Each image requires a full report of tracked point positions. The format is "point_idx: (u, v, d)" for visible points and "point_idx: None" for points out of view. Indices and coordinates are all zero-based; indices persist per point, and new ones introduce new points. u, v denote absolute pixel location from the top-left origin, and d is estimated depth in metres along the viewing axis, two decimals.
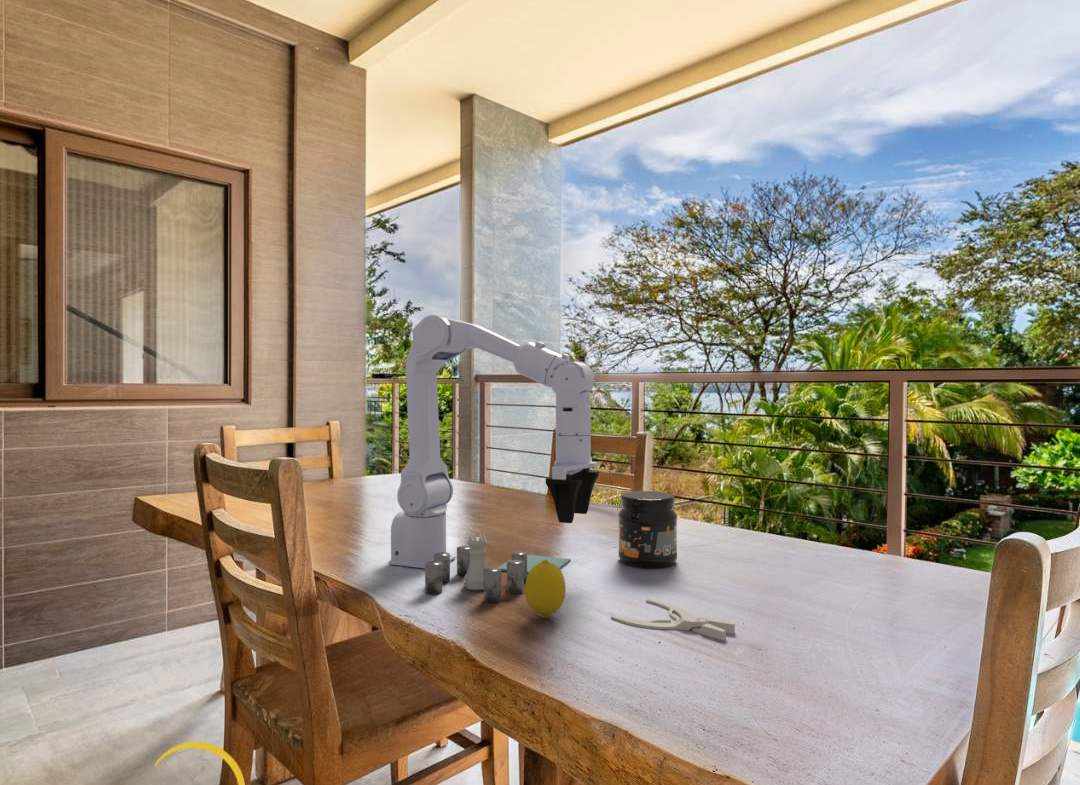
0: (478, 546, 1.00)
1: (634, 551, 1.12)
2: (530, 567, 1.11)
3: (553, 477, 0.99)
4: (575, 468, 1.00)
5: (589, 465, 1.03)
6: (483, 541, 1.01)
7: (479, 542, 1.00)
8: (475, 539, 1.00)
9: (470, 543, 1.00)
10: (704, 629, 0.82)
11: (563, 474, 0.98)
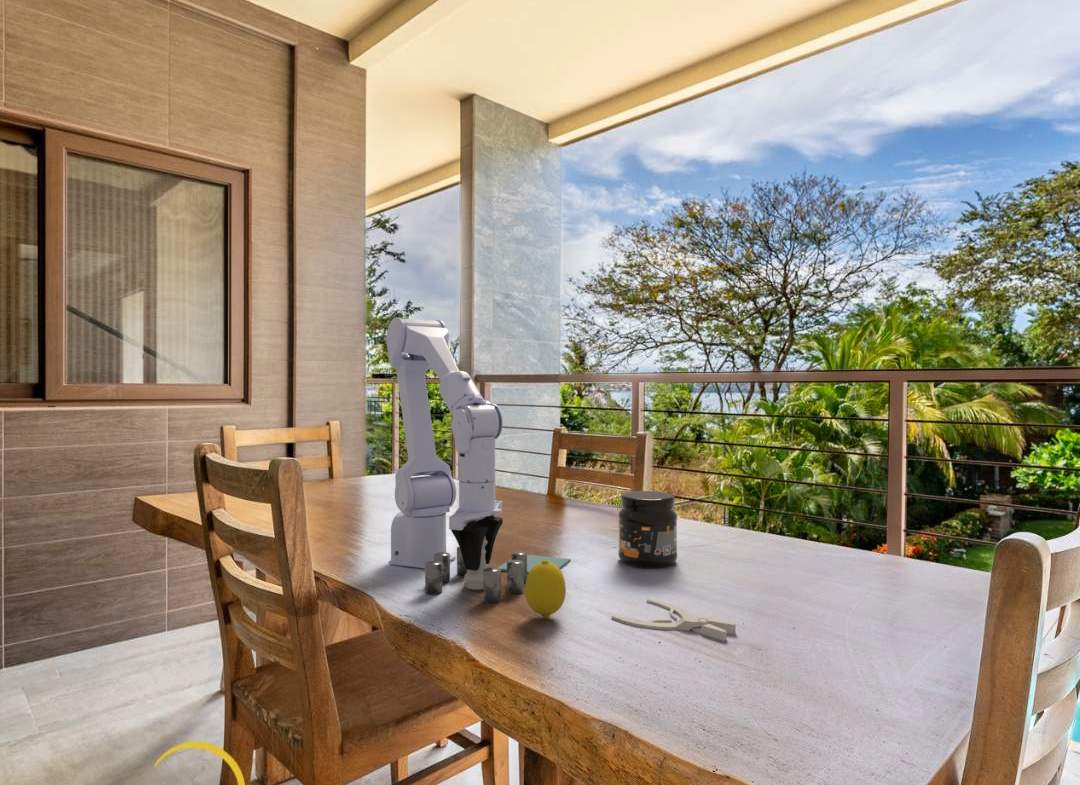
0: None
1: (634, 551, 1.12)
2: (530, 567, 1.11)
3: (450, 527, 0.95)
4: (475, 517, 0.97)
5: (492, 513, 0.99)
6: (483, 541, 1.01)
7: None
8: None
9: None
10: (705, 629, 0.82)
11: (460, 524, 0.94)
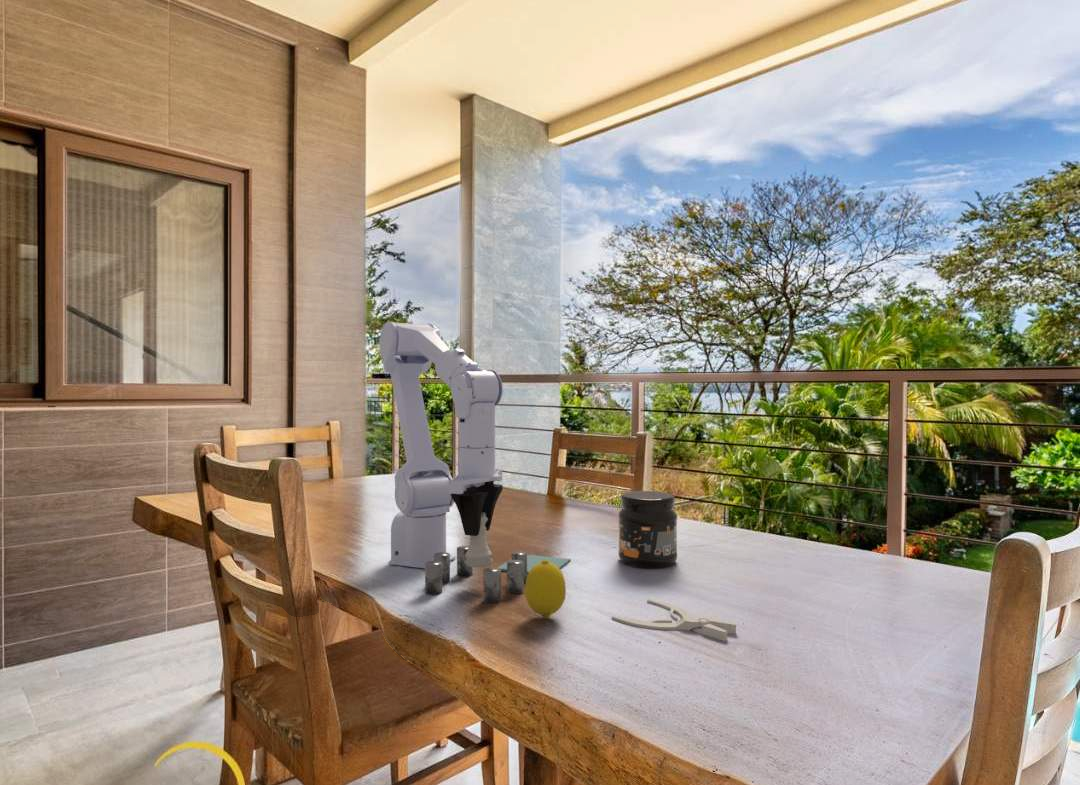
0: None
1: (634, 551, 1.12)
2: (530, 567, 1.11)
3: (450, 491, 0.95)
4: (474, 482, 0.97)
5: (491, 478, 0.99)
6: (483, 518, 1.01)
7: None
8: None
9: None
10: (705, 629, 0.82)
11: (459, 488, 0.94)
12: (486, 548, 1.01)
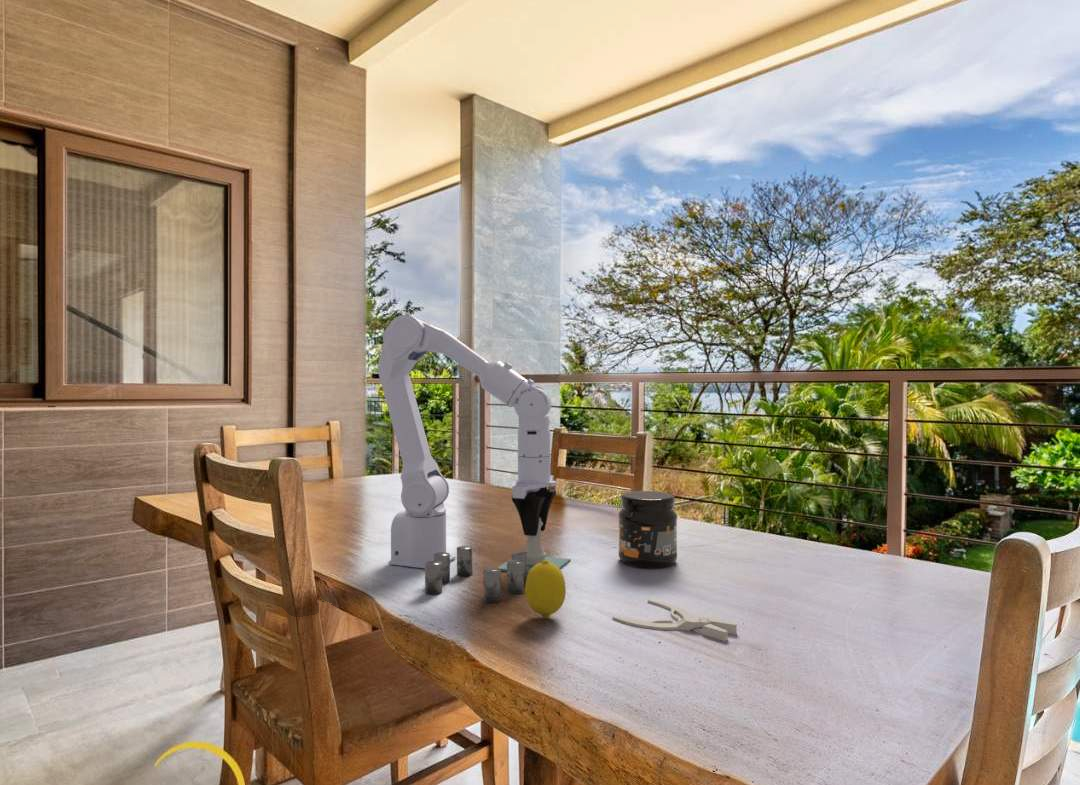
0: None
1: (634, 551, 1.12)
2: (530, 567, 1.11)
3: (513, 496, 1.07)
4: (534, 487, 1.09)
5: (548, 484, 1.11)
6: (539, 523, 1.12)
7: None
8: None
9: None
10: (706, 630, 0.82)
11: (522, 493, 1.06)
12: (541, 549, 1.12)
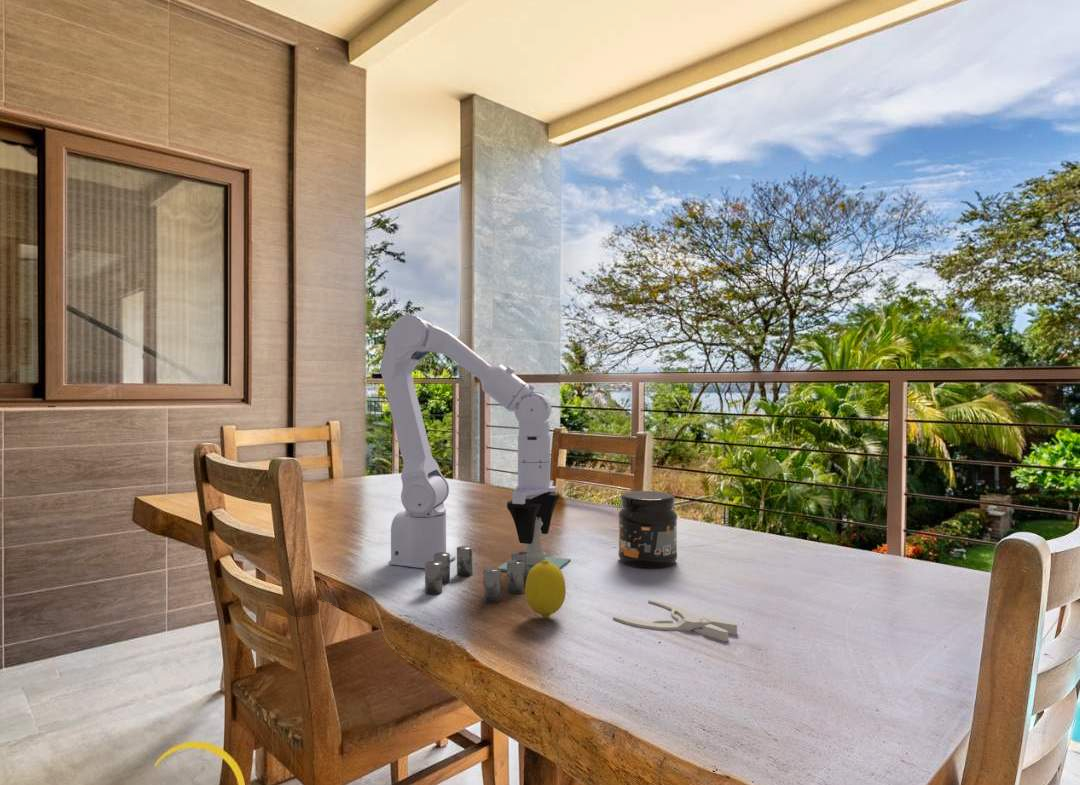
0: None
1: (634, 551, 1.12)
2: (530, 567, 1.11)
3: (513, 502, 1.07)
4: (534, 493, 1.09)
5: (548, 490, 1.11)
6: (539, 523, 1.12)
7: (535, 523, 1.12)
8: None
9: None
10: (706, 630, 0.82)
11: (522, 499, 1.06)
12: (541, 549, 1.12)
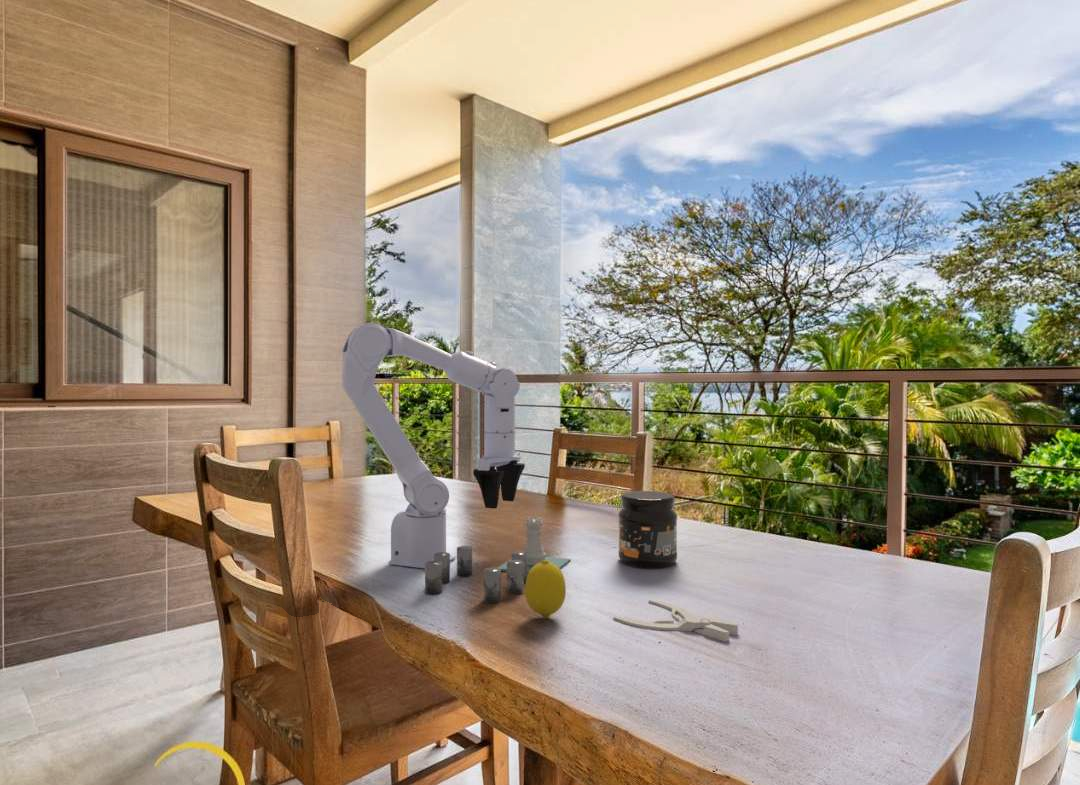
0: (534, 526, 1.12)
1: (634, 551, 1.12)
2: (530, 567, 1.11)
3: (478, 468, 1.14)
4: (498, 461, 1.16)
5: (512, 458, 1.19)
6: (539, 523, 1.12)
7: (535, 523, 1.12)
8: (531, 520, 1.12)
9: (527, 524, 1.12)
10: (707, 630, 0.81)
11: (486, 466, 1.14)
12: (541, 549, 1.12)
